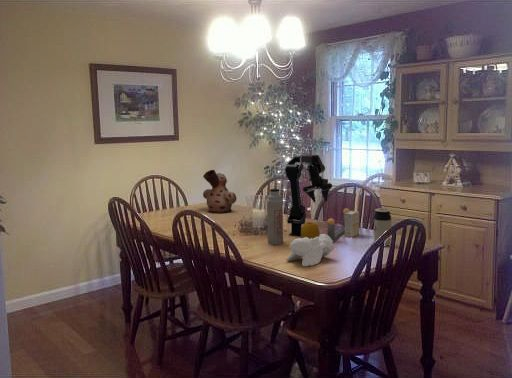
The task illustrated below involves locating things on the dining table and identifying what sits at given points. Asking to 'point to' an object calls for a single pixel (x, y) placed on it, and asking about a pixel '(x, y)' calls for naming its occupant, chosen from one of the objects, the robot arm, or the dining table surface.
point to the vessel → (218, 193)
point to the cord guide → (332, 227)
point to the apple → (310, 230)
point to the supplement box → (352, 224)
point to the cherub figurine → (310, 249)
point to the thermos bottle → (275, 217)
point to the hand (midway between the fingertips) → (320, 201)
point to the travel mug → (382, 223)
